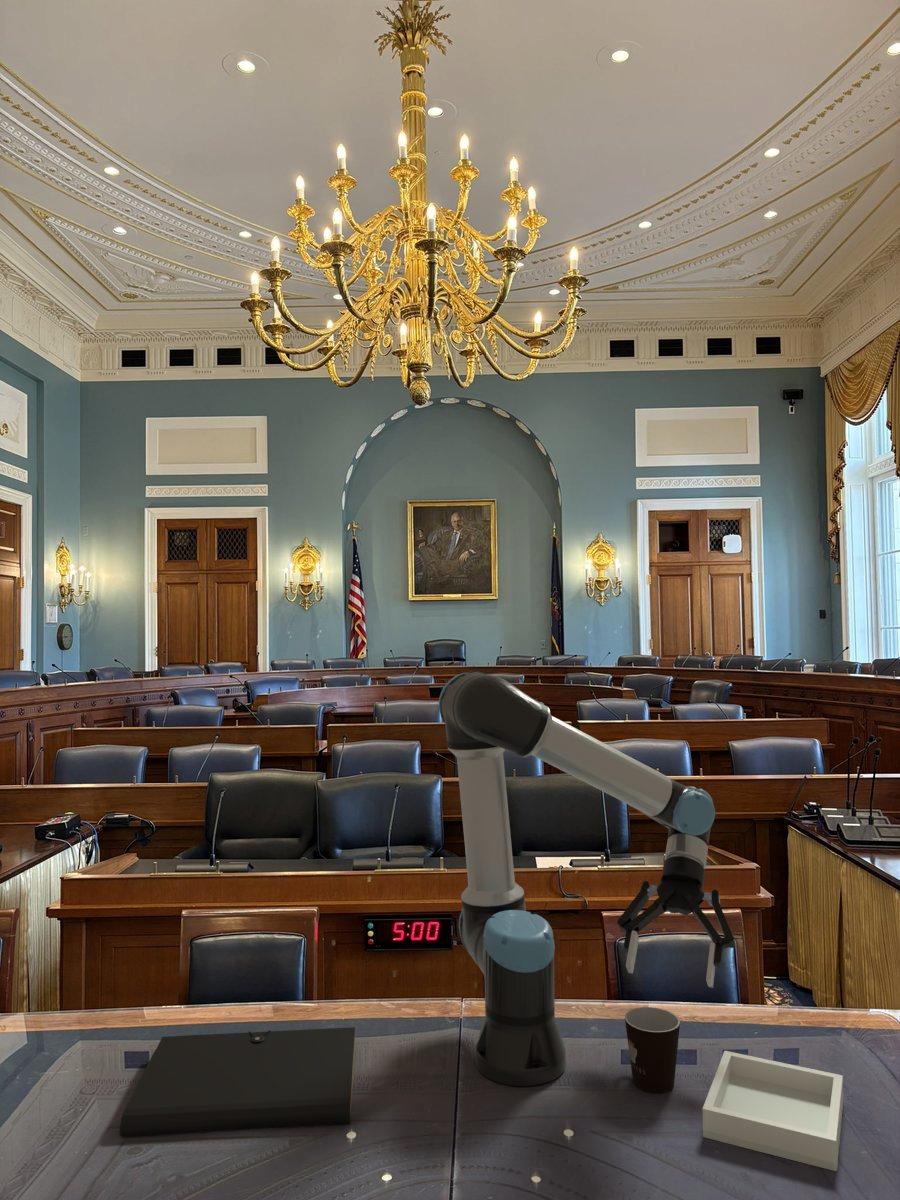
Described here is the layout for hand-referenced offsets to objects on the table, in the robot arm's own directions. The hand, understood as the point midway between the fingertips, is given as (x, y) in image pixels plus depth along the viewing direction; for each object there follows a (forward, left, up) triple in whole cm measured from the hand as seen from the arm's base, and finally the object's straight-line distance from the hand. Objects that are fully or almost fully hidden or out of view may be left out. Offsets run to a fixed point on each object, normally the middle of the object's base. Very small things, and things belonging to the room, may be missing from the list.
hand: (668, 976), depth 146 cm
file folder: (-58, -40, -14) cm, 72 cm away
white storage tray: (+18, -12, -13) cm, 26 cm away
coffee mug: (-1, -9, -13) cm, 16 cm away
